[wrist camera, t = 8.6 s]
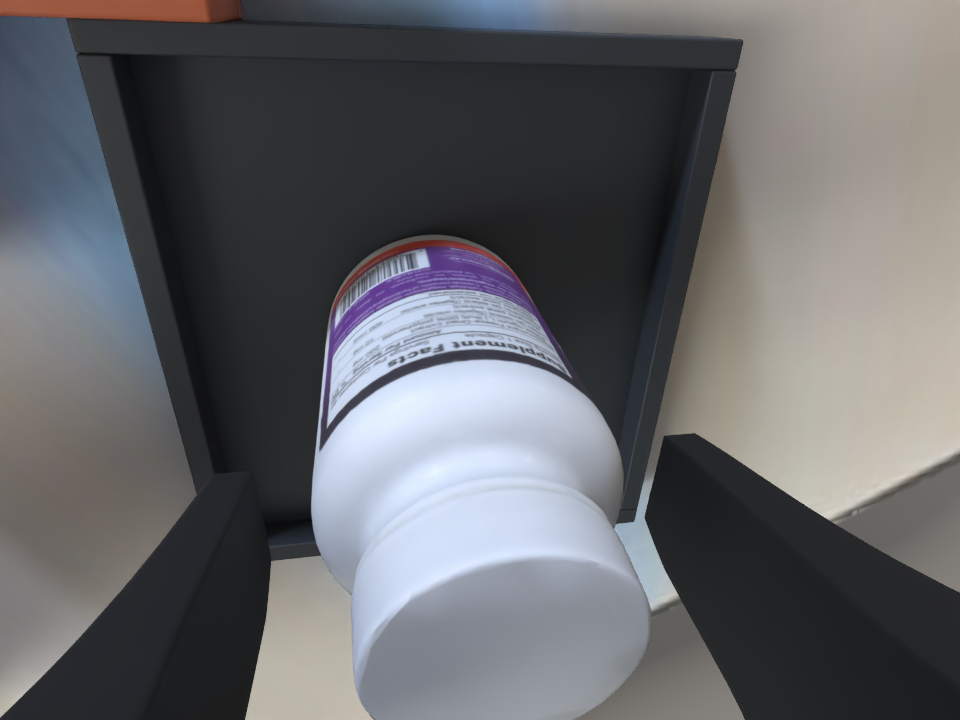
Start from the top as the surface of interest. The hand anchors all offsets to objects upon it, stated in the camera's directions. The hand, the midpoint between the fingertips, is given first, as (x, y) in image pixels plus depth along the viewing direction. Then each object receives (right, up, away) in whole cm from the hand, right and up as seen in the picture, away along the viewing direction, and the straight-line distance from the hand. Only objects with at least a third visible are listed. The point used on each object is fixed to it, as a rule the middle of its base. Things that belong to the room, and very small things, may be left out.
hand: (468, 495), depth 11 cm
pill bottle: (-1, +3, +6) cm, 7 cm away
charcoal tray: (-1, +3, +6) cm, 7 cm away
